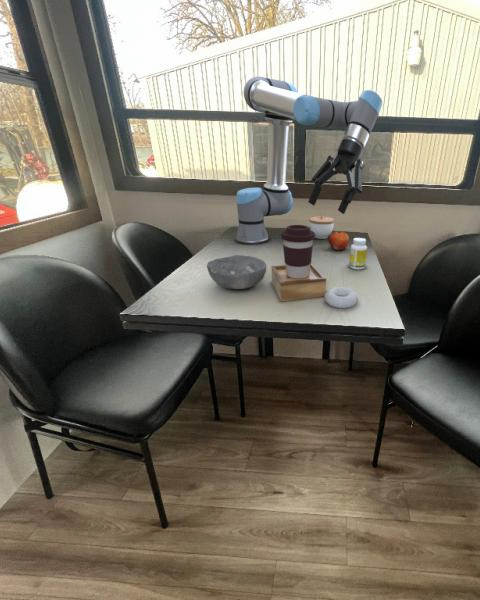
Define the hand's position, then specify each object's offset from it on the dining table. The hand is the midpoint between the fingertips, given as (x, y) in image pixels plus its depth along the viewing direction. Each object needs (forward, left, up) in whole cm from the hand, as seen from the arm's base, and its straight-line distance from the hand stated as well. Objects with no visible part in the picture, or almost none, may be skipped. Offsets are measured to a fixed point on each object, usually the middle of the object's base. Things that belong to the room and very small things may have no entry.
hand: (325, 207), depth 96 cm
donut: (+21, -2, -24) cm, 32 cm away
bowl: (+2, -29, -24) cm, 38 cm away
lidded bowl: (-50, +17, -24) cm, 58 cm away
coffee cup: (+9, -12, -19) cm, 24 cm away
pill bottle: (-5, +16, -24) cm, 29 cm away
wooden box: (+9, -12, -24) cm, 28 cm away
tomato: (-29, +18, -24) cm, 41 cm away
